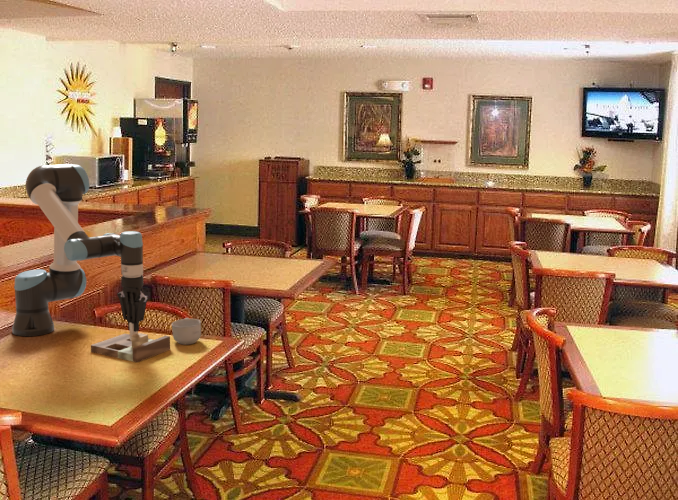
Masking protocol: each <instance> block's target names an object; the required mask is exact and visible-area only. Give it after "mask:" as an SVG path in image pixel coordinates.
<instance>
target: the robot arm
mask: <svg viewBox="0 0 678 500" xmlns="http://www.w3.org/2000/svg"><path fill="white" fill-rule="evenodd" d="M25 180H26V181H25V191H26V194H27V196H28V197H29V200H30V201H31V202H32V203H33V204H35V205H38V207H39V208H40V210H41V211H42V213H44V215H45V217H46V218H47V219H48V220H49V222H50V223H51V226H53V232H54V233H53V262H51V264H50V265H49V271H47V270H45V269H40V268H39V269H30V270H25V271H23V272H20V273H18V274H17V275H16V276H15V278H14V286H13V289H14V297H15V317H14V320H13V324H12V327H11V329H12V334H13V335H14V336H19V337H37V336H43V335H46V334H50V333H53V331H55V323H54V320H53V318H52V316H51V313H50V311H49V303H51V302H57V301H63V300H71V299H72V300H73V298H78V297H81V295H83V293H84V292H85V290H86V287H87V276H86V273H85V271H84V269H83V268H81V265H80V264H79V263H78V262H77V261H84V260H85V261H86V260H92V259H98V258H106V257H112V256H116V257H120V272H121V273H120V274H121V275H122V276H121V278H120V279H121V280H120V281H121V283H120V284H121V287H122V291H120V292H117V294H116V295H117V298H118V299H119V304H120V309H121V313H122V318H123V320H126V321H127V326H128V327H127V329H128V331H129V334H130V340H131V341H132V335H135V334H138V333H139V331H140V322H143V321H144V320H145V314H146V309H147V308H146V307H147V302H148V300H149V298H150V297H149V295H145V294H144V290H143V286H144V276H143V275H144V263H143V261H144V252H143V250H144V248H143V247H144V242H143V234H142V233H141V232H140V231H134V230H133V231H132V230H130V231H129V230H128V231H122V232H121V233H120V234H117V233H115V232H114V233H113V232H112V233H111V232H110V233H109V232H106V233H104V234H103V235H98V236H88V233H86V231H85V230H84V228H82V226H81V225H80V224H79V204H80V203H81V202H82V201H83V197H84V196H83V195H85V194H87V193H89V189H90V179H89V176H88V173H87V171H86V170H85V168H84V167H82V166H81V165H80V164H72V163H66V164H65V163H64V164H63V163H62V164H51V165H50V164H46V165H45V164H43V165H38V166H36V167H35V168H33V169H31V171H30V172H29V173H28V176H27V178H26V179H25Z"/></svg>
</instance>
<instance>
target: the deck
mask: <svg viewBox="0 0 678 500" xmlns="http://www.w3.org/2000/svg"><path fill="white" fill-rule="evenodd" d="M170 350H171V336H170V335H163V336H161V337H158V338H156V339H152V338H149V337H148V342H147V343H144V344H141V345H139V346H136V347H132V341H131V340H130V333H122V334H119V335H117V336H114V337H110V338H108V339H105V340H102V341H99V342H96V343H92V344H90V352H91V353H94V354H99V355H103V356H107V357H112V358H114V359H115V358H117V359H120V360H124V361H125V360H126V361H129V362H133V363H140V362H142V361H145V360H148V359H150V358H152V357H155V356H157V355H160V354H162V353H163V354H164V353H165V352H167V351H170Z"/></svg>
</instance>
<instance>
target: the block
mask: <svg viewBox="0 0 678 500" xmlns="http://www.w3.org/2000/svg"><path fill="white" fill-rule="evenodd" d="M148 338H149V334H146V333H143V332H138V334H135V335H132V347H136V346H139V345H141V344H144V343H147V342H148Z"/></svg>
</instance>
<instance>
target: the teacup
mask: <svg viewBox="0 0 678 500" xmlns="http://www.w3.org/2000/svg"><path fill="white" fill-rule="evenodd" d="M201 326H202V322H201V320H200V319H199V318H189V317H185V318H181V319H177V320H175V321H173V322H172V323H171V328H172V330H171V331H172V337H173V340H174V341H175V342H177V344H179V345H184V346H185V345H186V346H187V345H192V344H195V343H197V342H198V341H199V339H200V338H201V336H202V327H201Z"/></svg>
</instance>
